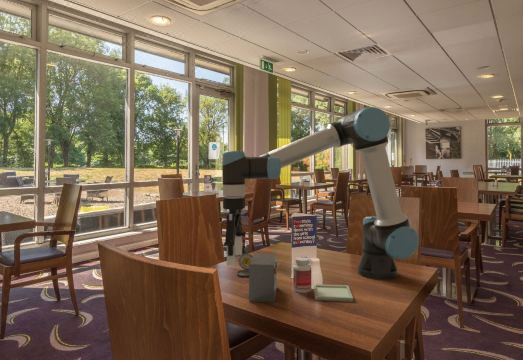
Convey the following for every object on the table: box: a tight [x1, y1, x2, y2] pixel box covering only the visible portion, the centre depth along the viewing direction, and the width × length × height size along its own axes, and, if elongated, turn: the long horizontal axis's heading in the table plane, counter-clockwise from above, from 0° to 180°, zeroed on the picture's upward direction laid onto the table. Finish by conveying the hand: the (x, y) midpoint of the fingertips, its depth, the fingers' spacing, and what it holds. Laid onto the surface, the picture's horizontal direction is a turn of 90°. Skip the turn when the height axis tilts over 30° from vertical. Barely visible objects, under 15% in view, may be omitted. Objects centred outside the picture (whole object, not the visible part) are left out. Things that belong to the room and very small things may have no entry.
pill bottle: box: [292, 256, 312, 294], centre depth 128 cm, size 6×6×11 cm
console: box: [248, 253, 279, 303], centre depth 124 cm, size 9×14×12 cm, turn 174°
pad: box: [313, 284, 354, 302], centre depth 124 cm, size 12×12×1 cm
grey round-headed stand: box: [236, 247, 253, 277], centre depth 147 cm, size 8×8×10 cm
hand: (234, 259), depth 125 cm, fingers open, 13 cm apart
